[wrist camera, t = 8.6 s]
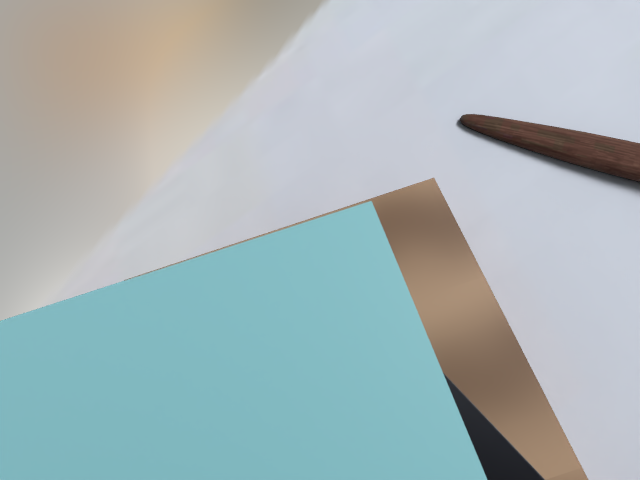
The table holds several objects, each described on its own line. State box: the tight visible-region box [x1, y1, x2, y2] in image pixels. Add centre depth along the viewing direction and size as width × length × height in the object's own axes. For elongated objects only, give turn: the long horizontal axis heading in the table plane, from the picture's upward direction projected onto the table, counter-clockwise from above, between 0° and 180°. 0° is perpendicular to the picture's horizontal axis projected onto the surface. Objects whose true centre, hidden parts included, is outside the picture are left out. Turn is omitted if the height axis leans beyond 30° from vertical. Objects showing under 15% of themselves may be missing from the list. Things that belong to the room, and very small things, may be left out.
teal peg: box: [0, 201, 487, 480], centre depth 8 cm, size 4×4×13 cm
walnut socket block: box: [124, 178, 588, 480], centre depth 16 cm, size 17×15×4 cm
